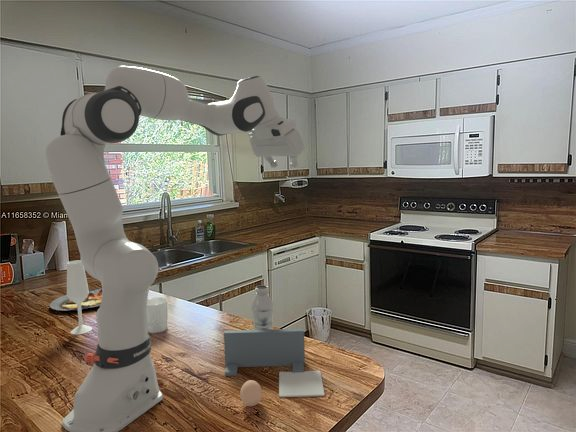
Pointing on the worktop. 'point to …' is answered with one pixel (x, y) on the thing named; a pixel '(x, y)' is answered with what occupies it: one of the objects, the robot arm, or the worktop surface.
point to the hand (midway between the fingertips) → (284, 166)
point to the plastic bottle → (262, 309)
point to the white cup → (157, 314)
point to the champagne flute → (77, 291)
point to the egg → (251, 393)
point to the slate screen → (264, 349)
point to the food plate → (90, 301)
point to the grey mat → (300, 384)
